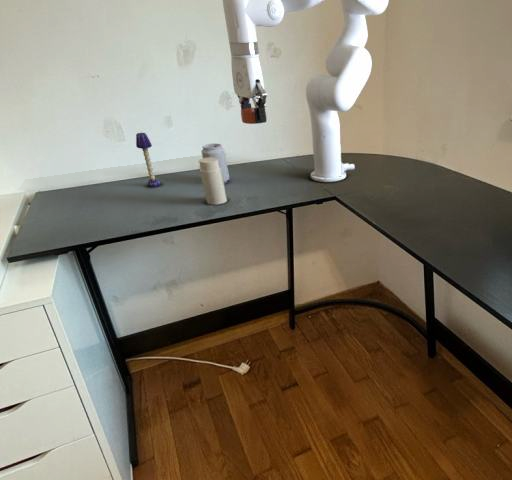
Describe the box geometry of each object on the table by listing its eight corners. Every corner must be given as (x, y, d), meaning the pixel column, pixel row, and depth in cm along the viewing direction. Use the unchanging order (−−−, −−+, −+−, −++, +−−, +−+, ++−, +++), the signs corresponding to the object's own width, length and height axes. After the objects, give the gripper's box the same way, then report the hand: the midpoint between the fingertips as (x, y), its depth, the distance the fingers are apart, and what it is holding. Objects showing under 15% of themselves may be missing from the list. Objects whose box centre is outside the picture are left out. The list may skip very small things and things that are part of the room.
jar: (225, 196, 151) (217, 156, 143) (228, 203, 146) (220, 161, 138) (205, 199, 149) (196, 158, 141) (207, 205, 144) (198, 163, 137)
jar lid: (251, 125, 135) (249, 113, 133) (237, 121, 139) (235, 110, 137) (271, 121, 139) (270, 109, 137) (257, 117, 143) (255, 106, 141)
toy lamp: (164, 183, 162) (150, 131, 152) (159, 187, 158) (145, 135, 148) (150, 183, 162) (135, 131, 152) (145, 187, 158) (130, 135, 148)
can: (232, 178, 166) (226, 142, 159) (225, 185, 160) (218, 148, 153) (212, 177, 166) (205, 142, 159) (204, 184, 161) (196, 147, 153)
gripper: (217, 49, 131) (229, 118, 142) (248, 53, 121) (258, 127, 131) (241, 47, 135) (250, 114, 146) (273, 51, 125) (281, 123, 135)
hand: (254, 120), depth 138 cm, fingers closed on jar lid, 7 cm apart
